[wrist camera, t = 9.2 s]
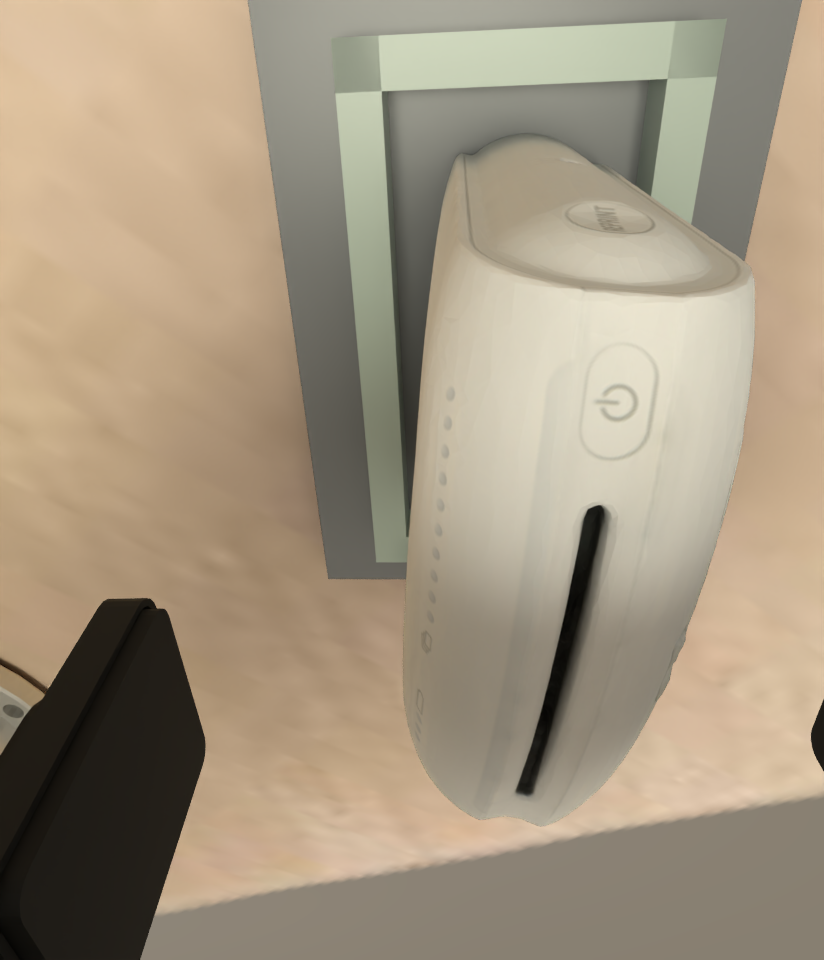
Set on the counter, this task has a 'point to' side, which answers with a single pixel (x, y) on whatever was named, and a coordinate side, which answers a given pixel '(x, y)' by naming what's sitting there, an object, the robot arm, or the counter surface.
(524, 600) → the photo printer
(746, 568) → the counter surface
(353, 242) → the dock
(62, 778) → the robot arm
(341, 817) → the counter surface
